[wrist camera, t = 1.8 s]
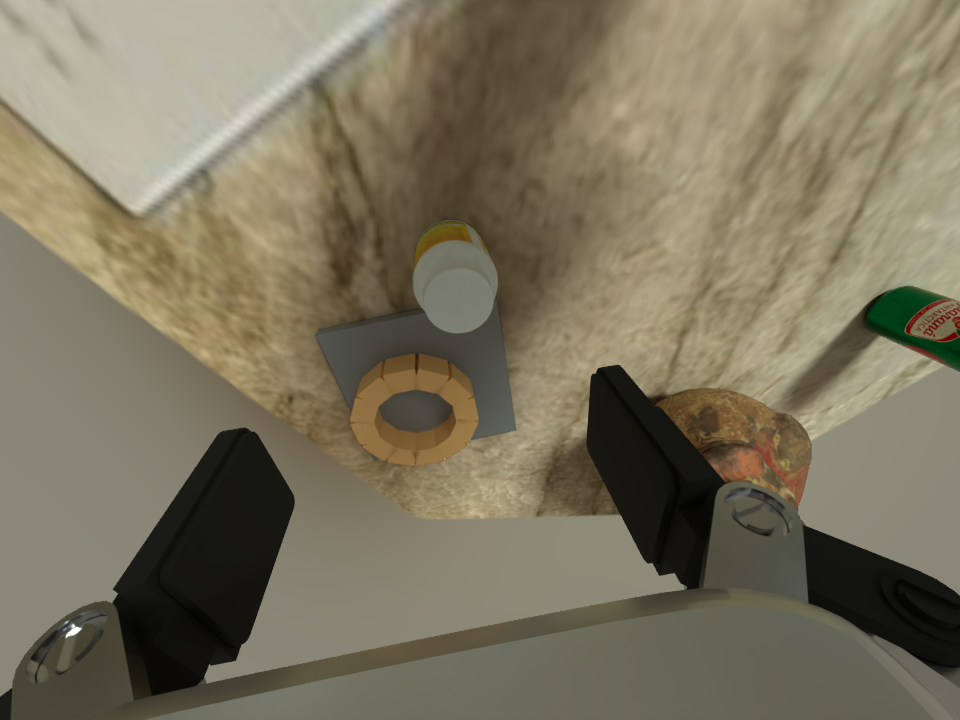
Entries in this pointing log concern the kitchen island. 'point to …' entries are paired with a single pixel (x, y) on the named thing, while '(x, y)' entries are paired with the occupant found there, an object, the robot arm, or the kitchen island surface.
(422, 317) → the plate
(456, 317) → the supplement bottle
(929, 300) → the soda can
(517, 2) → the kitchen island surface
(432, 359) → the collar
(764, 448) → the ceramic vessel
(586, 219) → the kitchen island surface
